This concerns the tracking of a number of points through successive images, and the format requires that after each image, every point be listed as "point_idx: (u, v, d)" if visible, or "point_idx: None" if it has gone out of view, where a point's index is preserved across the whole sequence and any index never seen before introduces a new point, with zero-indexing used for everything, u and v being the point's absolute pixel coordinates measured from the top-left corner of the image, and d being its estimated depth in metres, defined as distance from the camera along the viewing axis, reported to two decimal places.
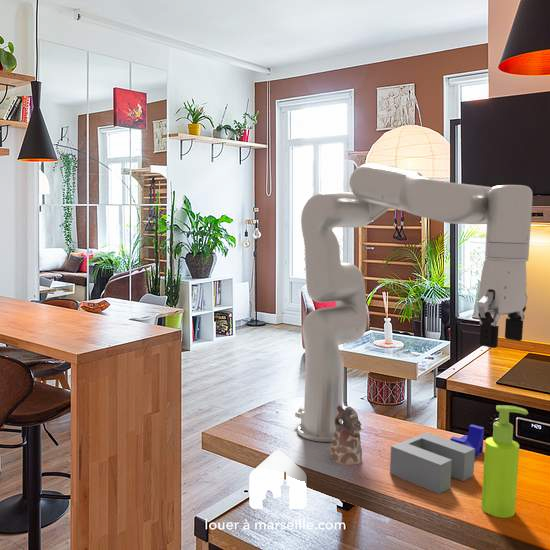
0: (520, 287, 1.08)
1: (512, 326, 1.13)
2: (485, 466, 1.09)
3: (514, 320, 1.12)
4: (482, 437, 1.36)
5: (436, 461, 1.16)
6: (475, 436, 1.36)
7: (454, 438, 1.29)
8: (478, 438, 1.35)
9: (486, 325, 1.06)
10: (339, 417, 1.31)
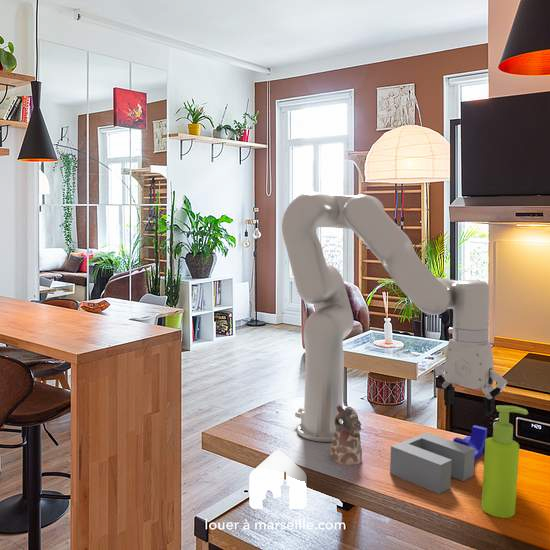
0: None
1: (450, 394, 1.36)
2: (485, 466, 1.09)
3: (451, 388, 1.36)
4: (485, 438, 1.36)
5: (436, 461, 1.16)
6: (478, 437, 1.36)
7: (457, 439, 1.29)
8: (481, 439, 1.35)
9: (493, 398, 1.28)
10: (339, 417, 1.31)
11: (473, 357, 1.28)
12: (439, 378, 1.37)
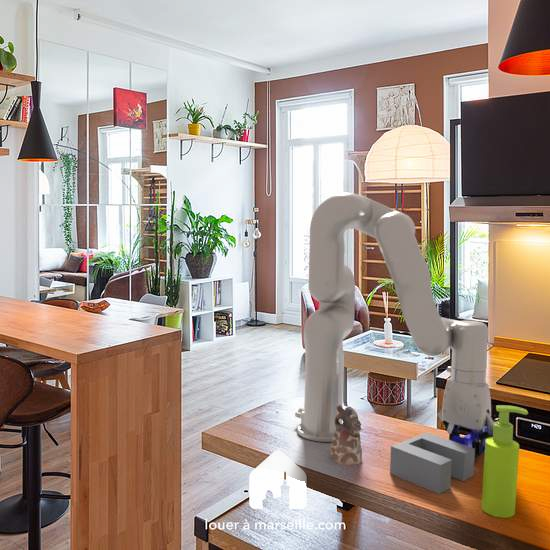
0: None
1: None
2: (485, 466, 1.09)
3: (456, 433, 1.35)
4: None
5: (436, 461, 1.16)
6: None
7: (455, 437, 1.30)
8: None
9: (481, 441, 1.30)
10: (339, 417, 1.31)
11: (471, 398, 1.29)
12: (444, 423, 1.36)
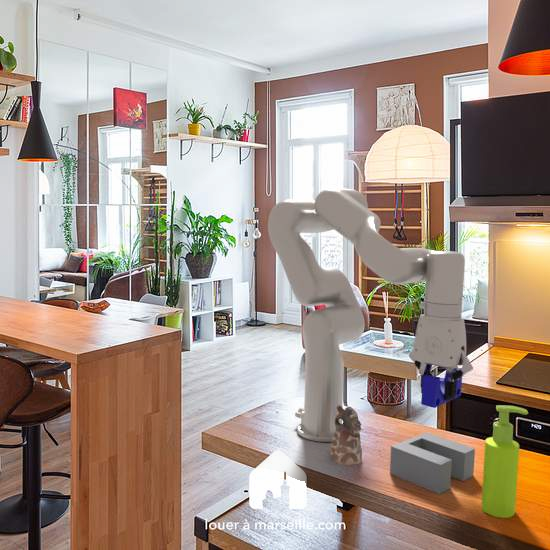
0: None
1: None
2: (485, 466, 1.09)
3: None
4: (460, 379, 1.25)
5: (436, 461, 1.16)
6: None
7: (427, 376, 1.19)
8: None
9: (454, 381, 1.20)
10: (339, 417, 1.31)
11: (445, 333, 1.18)
12: (416, 363, 1.25)
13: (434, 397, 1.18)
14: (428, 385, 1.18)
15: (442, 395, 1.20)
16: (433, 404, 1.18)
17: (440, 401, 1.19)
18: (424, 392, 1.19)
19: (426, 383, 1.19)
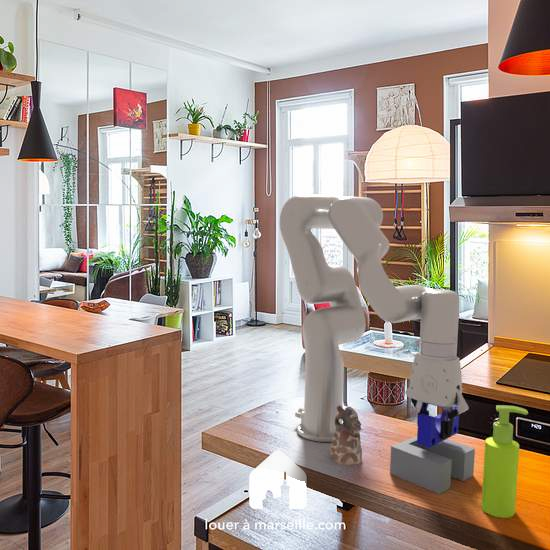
0: None
1: None
2: (485, 466, 1.09)
3: (425, 412, 1.25)
4: (457, 416, 1.25)
5: (436, 461, 1.16)
6: None
7: (422, 415, 1.19)
8: None
9: (450, 420, 1.20)
10: (339, 417, 1.31)
11: (440, 373, 1.18)
12: (413, 401, 1.25)
13: (429, 437, 1.17)
14: (423, 425, 1.18)
15: (438, 434, 1.20)
16: (429, 444, 1.18)
17: (436, 440, 1.19)
18: (420, 431, 1.19)
19: (421, 422, 1.19)
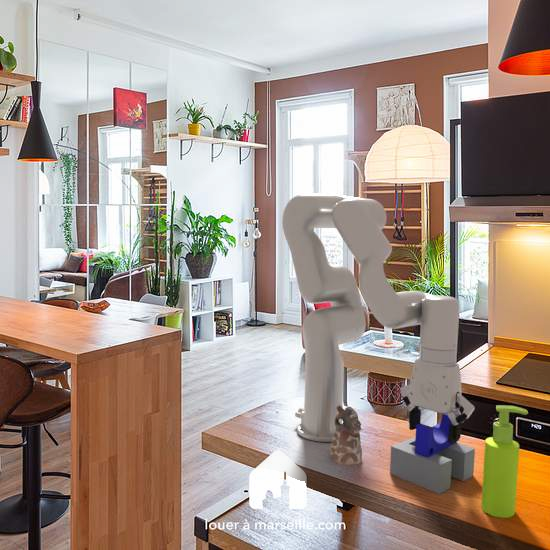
0: None
1: (416, 417, 1.26)
2: (485, 466, 1.09)
3: (417, 411, 1.26)
4: None
5: (436, 461, 1.16)
6: (448, 425, 1.25)
7: (420, 425, 1.19)
8: None
9: (459, 424, 1.18)
10: (339, 417, 1.31)
11: (439, 379, 1.18)
12: (405, 400, 1.27)
13: (427, 447, 1.18)
14: (421, 435, 1.19)
15: (436, 444, 1.20)
16: (426, 454, 1.18)
17: (434, 450, 1.20)
18: (417, 441, 1.19)
19: (419, 432, 1.19)
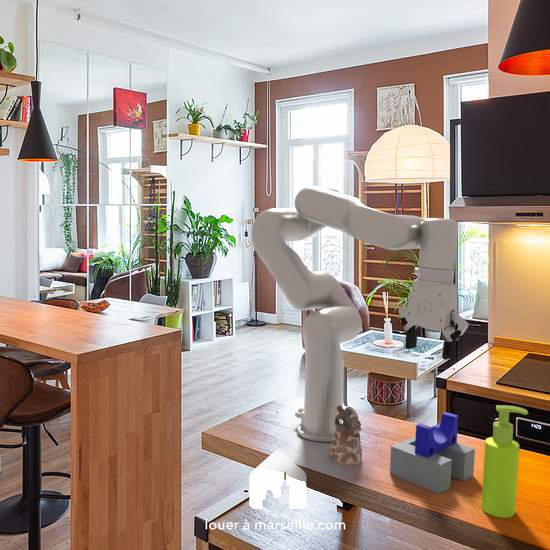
0: None
1: (412, 337, 1.31)
2: (485, 466, 1.09)
3: (413, 331, 1.31)
4: (455, 426, 1.25)
5: (436, 461, 1.16)
6: (448, 424, 1.25)
7: (420, 425, 1.19)
8: (451, 427, 1.25)
9: (453, 341, 1.23)
10: (339, 417, 1.31)
11: (435, 297, 1.22)
12: (402, 320, 1.32)
13: (427, 447, 1.18)
14: (421, 435, 1.19)
15: (436, 444, 1.20)
16: (426, 454, 1.18)
17: (434, 450, 1.20)
18: (417, 441, 1.19)
19: (419, 432, 1.19)
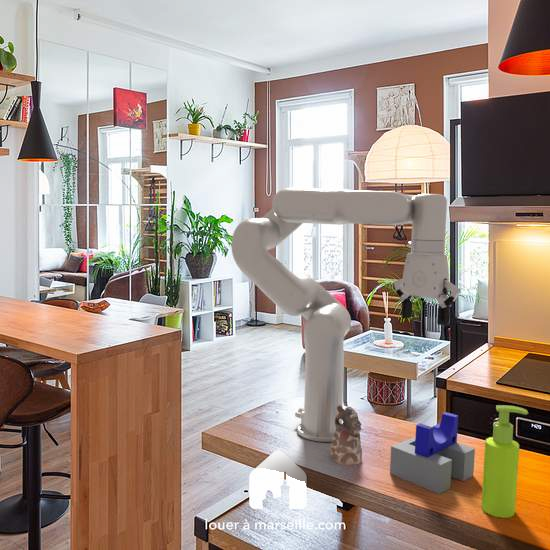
0: None
1: (408, 307, 1.39)
2: (485, 466, 1.09)
3: (409, 302, 1.39)
4: (455, 426, 1.25)
5: (436, 461, 1.16)
6: (448, 424, 1.25)
7: (420, 425, 1.19)
8: (451, 427, 1.25)
9: (447, 307, 1.32)
10: (339, 417, 1.31)
11: (429, 267, 1.31)
12: (398, 292, 1.40)
13: (427, 447, 1.18)
14: (421, 435, 1.19)
15: (436, 444, 1.20)
16: (426, 454, 1.18)
17: (434, 450, 1.20)
18: (417, 441, 1.19)
19: (419, 432, 1.19)
